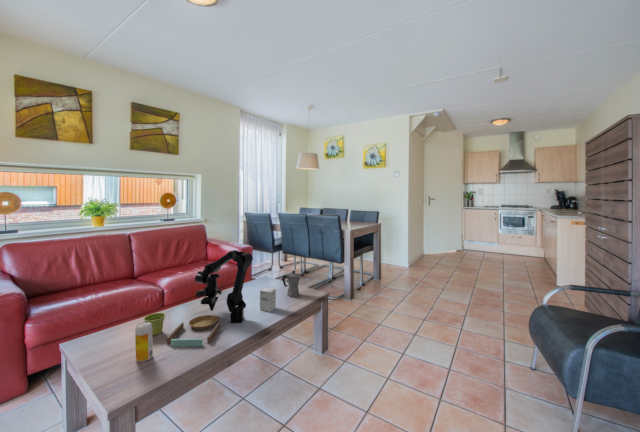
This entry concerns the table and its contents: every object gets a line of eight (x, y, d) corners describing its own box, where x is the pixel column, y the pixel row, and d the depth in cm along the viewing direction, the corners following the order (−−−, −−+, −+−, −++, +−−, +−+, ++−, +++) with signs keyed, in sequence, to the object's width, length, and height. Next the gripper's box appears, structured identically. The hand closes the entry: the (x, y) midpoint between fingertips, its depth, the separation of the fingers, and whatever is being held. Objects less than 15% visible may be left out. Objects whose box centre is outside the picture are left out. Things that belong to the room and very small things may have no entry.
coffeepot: (298, 292, 204) (298, 268, 203) (304, 295, 196) (304, 271, 195) (279, 295, 196) (279, 270, 195) (284, 299, 188) (285, 274, 187)
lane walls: (220, 327, 145) (220, 322, 145) (209, 343, 129) (209, 337, 129) (181, 328, 144) (181, 322, 144) (166, 344, 128) (166, 338, 128)
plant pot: (155, 338, 133) (155, 321, 133) (139, 336, 135) (139, 319, 134) (169, 330, 142) (169, 313, 142) (154, 328, 144) (154, 312, 144)
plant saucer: (189, 321, 153) (189, 317, 153) (217, 317, 158) (217, 313, 158) (187, 333, 139) (187, 328, 139) (218, 329, 145) (218, 324, 145)
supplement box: (259, 310, 169) (259, 290, 169) (266, 306, 176) (266, 286, 176) (269, 312, 167) (269, 292, 166) (276, 307, 174) (276, 288, 173)
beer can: (141, 354, 119) (140, 321, 118) (155, 354, 120) (154, 321, 119) (132, 363, 113) (131, 328, 112) (148, 362, 114) (147, 327, 113)
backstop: (202, 344, 128) (202, 338, 128) (201, 345, 127) (201, 339, 127) (171, 345, 127) (171, 339, 127) (170, 346, 126) (170, 340, 126)
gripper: (203, 280, 170) (203, 304, 170) (191, 289, 151) (191, 317, 152) (221, 280, 170) (221, 304, 171) (211, 289, 152) (211, 317, 152)
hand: (211, 310), depth 162 cm, fingers closed
